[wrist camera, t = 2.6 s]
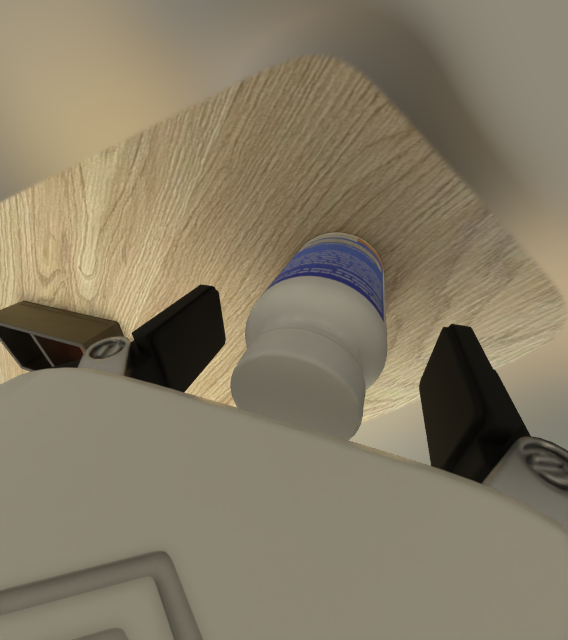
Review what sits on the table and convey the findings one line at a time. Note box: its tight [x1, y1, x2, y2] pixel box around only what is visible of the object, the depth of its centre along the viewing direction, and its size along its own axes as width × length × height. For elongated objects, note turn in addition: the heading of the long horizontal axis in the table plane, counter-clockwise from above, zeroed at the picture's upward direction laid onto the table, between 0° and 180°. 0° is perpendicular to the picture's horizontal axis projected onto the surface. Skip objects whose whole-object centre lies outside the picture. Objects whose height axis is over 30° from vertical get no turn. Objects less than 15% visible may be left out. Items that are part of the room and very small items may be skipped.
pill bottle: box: [230, 232, 387, 440], centre depth 11 cm, size 5×5×10 cm
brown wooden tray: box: [0, 301, 123, 372], centre depth 27 cm, size 7×14×4 cm, turn 90°
